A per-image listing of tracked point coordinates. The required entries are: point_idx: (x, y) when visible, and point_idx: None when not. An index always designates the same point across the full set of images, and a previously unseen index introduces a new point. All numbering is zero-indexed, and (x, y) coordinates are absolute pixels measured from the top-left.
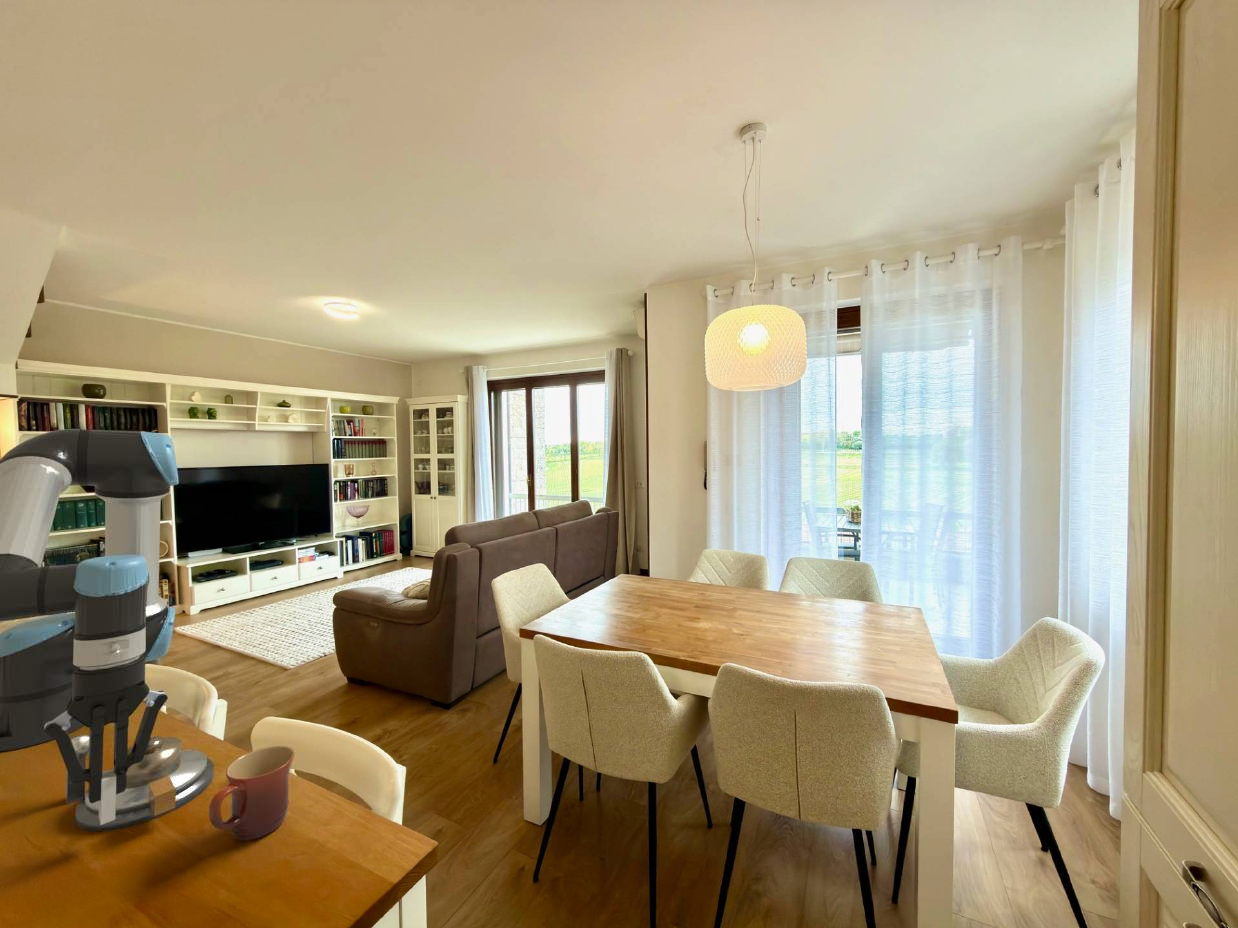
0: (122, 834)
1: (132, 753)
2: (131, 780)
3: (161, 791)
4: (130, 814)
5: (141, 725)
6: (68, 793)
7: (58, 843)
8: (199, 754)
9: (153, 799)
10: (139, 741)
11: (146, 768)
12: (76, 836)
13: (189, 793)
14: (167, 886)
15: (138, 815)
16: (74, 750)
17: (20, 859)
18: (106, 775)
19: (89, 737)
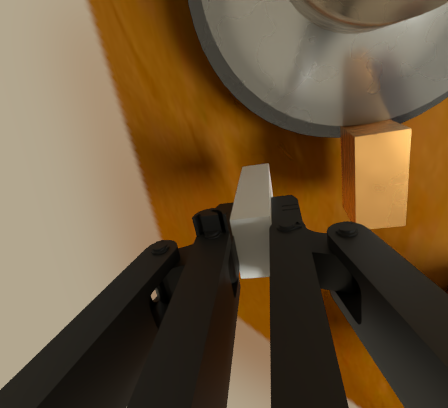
0: (284, 151)
1: (336, 262)
2: (314, 17)
3: (373, 215)
4: (301, 120)
5: (436, 394)
6: None
7: (181, 95)
8: None
9: (351, 205)
10: (378, 360)
11: (364, 26)
12: (207, 90)
13: (429, 106)
14: (332, 336)
15: (315, 134)
16: (113, 406)
17: (133, 109)
18: (251, 254)
19: (142, 375)
